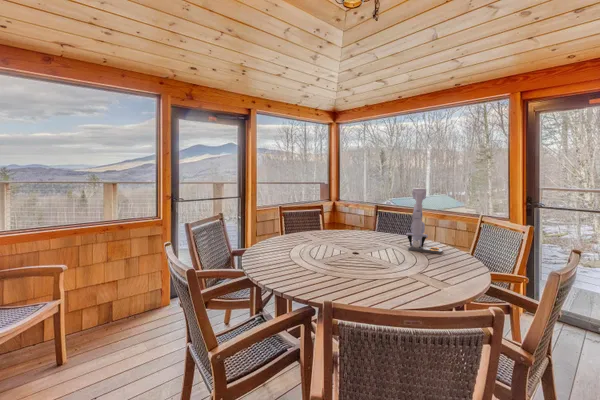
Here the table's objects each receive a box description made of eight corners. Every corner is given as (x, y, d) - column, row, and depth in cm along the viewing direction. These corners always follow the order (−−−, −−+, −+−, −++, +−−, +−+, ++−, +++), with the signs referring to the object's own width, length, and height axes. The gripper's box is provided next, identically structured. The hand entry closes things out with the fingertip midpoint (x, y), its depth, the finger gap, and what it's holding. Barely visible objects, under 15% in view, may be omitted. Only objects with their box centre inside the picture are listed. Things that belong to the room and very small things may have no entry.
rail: (410, 247, 226) (410, 244, 226) (442, 251, 215) (442, 248, 215) (408, 250, 219) (408, 247, 219) (441, 254, 208) (441, 251, 208)
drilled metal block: (413, 248, 223) (414, 239, 222) (419, 249, 221) (420, 240, 220) (413, 250, 219) (413, 240, 219) (418, 250, 217) (419, 241, 217)
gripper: (405, 227, 219) (405, 246, 220) (427, 229, 211) (426, 248, 213) (407, 226, 225) (406, 244, 226) (428, 228, 217) (427, 246, 219)
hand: (416, 246), depth 220 cm, fingers open, 7 cm apart
